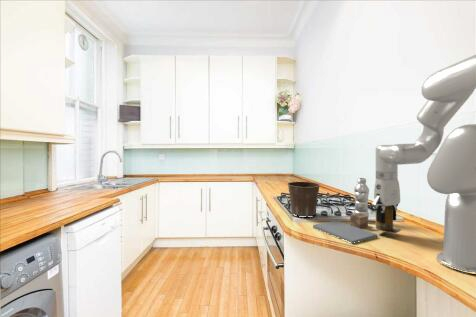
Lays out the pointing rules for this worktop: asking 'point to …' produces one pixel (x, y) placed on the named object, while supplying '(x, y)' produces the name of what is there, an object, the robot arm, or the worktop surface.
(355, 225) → the walnut block
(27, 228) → the worktop surface
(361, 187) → the plastic bottle
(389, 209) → the condiment
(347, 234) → the slate board
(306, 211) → the plant pot
